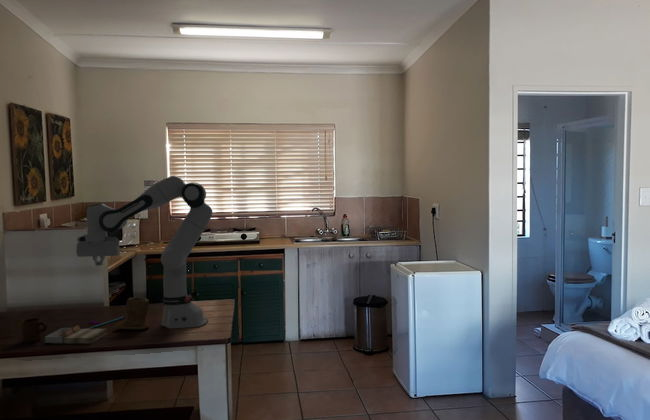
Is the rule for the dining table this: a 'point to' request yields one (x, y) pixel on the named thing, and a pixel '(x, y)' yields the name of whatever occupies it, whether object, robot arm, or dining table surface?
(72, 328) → the tile
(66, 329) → the tray
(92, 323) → the squeegee
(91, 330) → the board
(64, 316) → the dining table surface
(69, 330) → the tile
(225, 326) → the dining table surface
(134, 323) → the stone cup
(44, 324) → the mug
